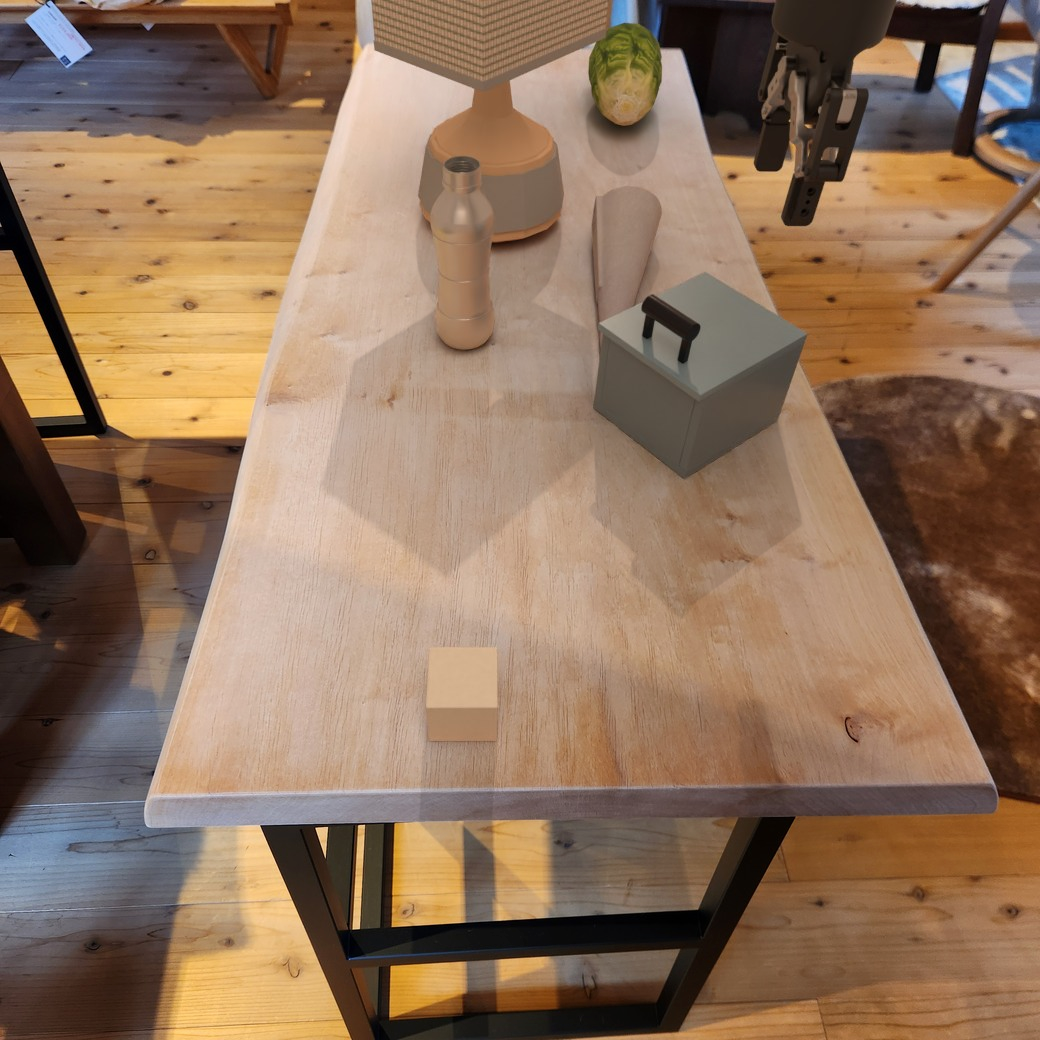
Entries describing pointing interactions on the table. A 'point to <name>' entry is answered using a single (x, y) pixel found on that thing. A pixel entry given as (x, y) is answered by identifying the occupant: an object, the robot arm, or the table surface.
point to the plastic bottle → (463, 255)
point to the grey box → (688, 407)
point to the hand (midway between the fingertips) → (780, 195)
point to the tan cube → (462, 694)
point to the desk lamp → (492, 93)
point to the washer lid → (702, 334)
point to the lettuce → (625, 73)
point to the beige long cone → (622, 245)
